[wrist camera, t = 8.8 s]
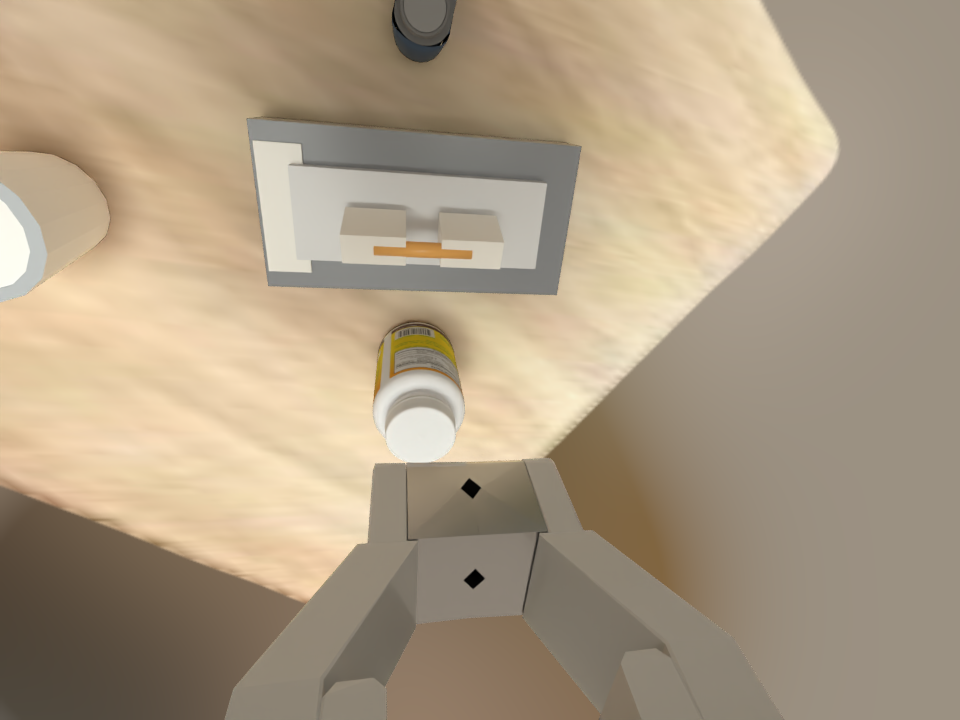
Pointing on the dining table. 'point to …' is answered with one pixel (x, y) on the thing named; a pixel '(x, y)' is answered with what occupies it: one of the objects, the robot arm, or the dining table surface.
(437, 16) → the vaping device
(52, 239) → the white cylinder
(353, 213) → the double breaker paddle
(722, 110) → the dining table surface
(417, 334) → the supplement bottle
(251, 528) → the dining table surface
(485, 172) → the panel
